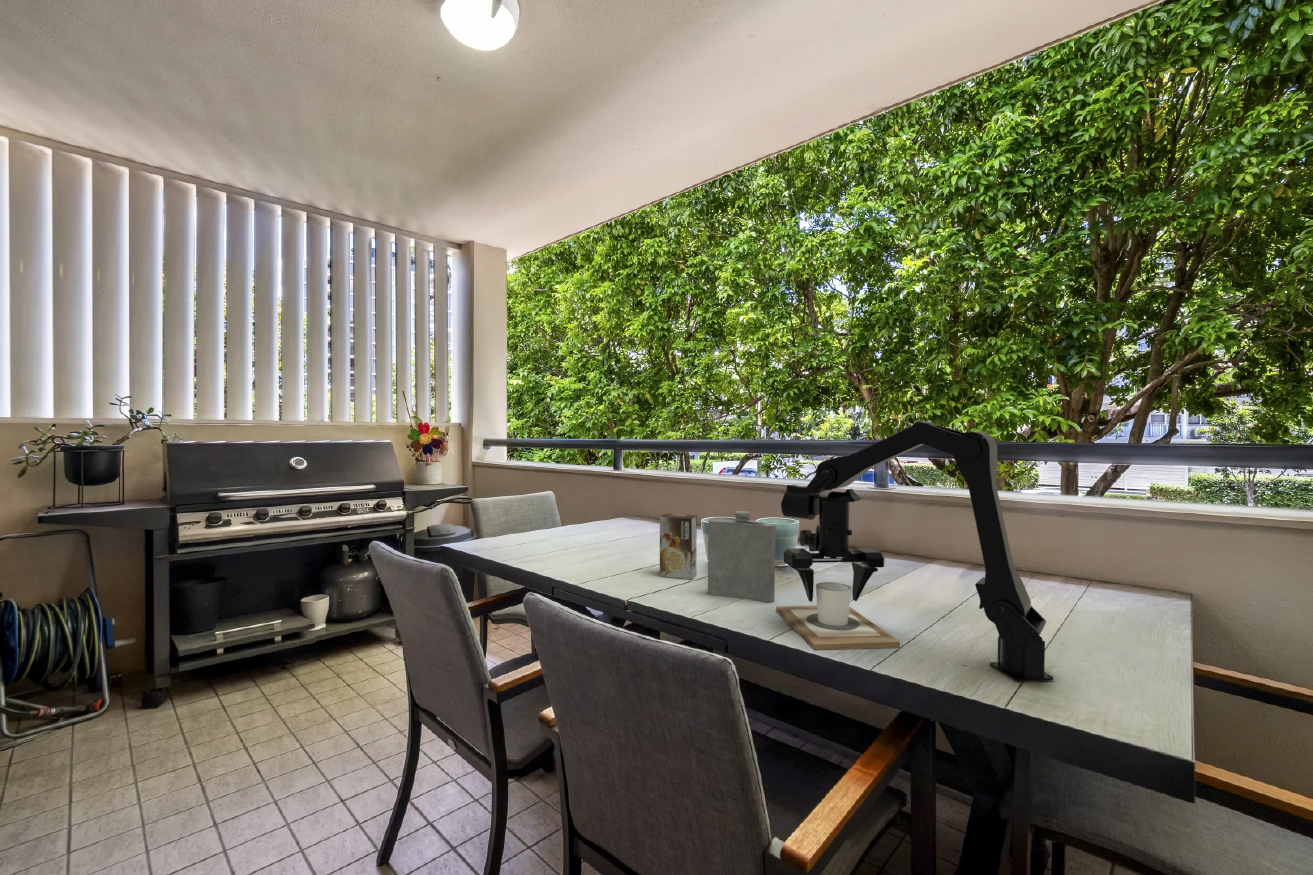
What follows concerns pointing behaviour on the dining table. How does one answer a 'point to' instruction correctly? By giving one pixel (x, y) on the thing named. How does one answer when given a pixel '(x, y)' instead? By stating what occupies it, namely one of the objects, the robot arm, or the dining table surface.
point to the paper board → (836, 630)
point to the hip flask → (741, 558)
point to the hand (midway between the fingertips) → (832, 600)
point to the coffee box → (678, 546)
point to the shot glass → (833, 603)
